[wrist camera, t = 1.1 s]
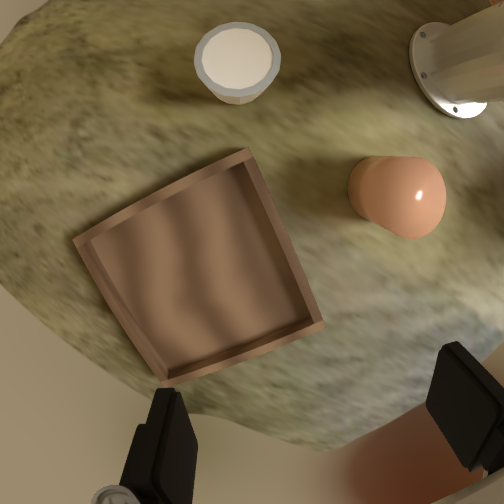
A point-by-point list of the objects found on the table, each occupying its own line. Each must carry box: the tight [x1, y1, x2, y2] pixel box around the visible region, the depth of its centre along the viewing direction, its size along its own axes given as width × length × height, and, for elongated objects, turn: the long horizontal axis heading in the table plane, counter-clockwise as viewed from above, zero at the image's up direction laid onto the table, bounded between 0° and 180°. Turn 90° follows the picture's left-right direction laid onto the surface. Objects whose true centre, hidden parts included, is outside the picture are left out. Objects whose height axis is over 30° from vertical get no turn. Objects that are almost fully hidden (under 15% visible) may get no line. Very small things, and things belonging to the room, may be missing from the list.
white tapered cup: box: [194, 22, 281, 105], centre depth 25 cm, size 7×7×7 cm
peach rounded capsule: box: [347, 156, 446, 239], centre depth 28 cm, size 7×7×8 cm
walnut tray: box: [72, 147, 326, 388], centre depth 32 cm, size 20×20×2 cm
